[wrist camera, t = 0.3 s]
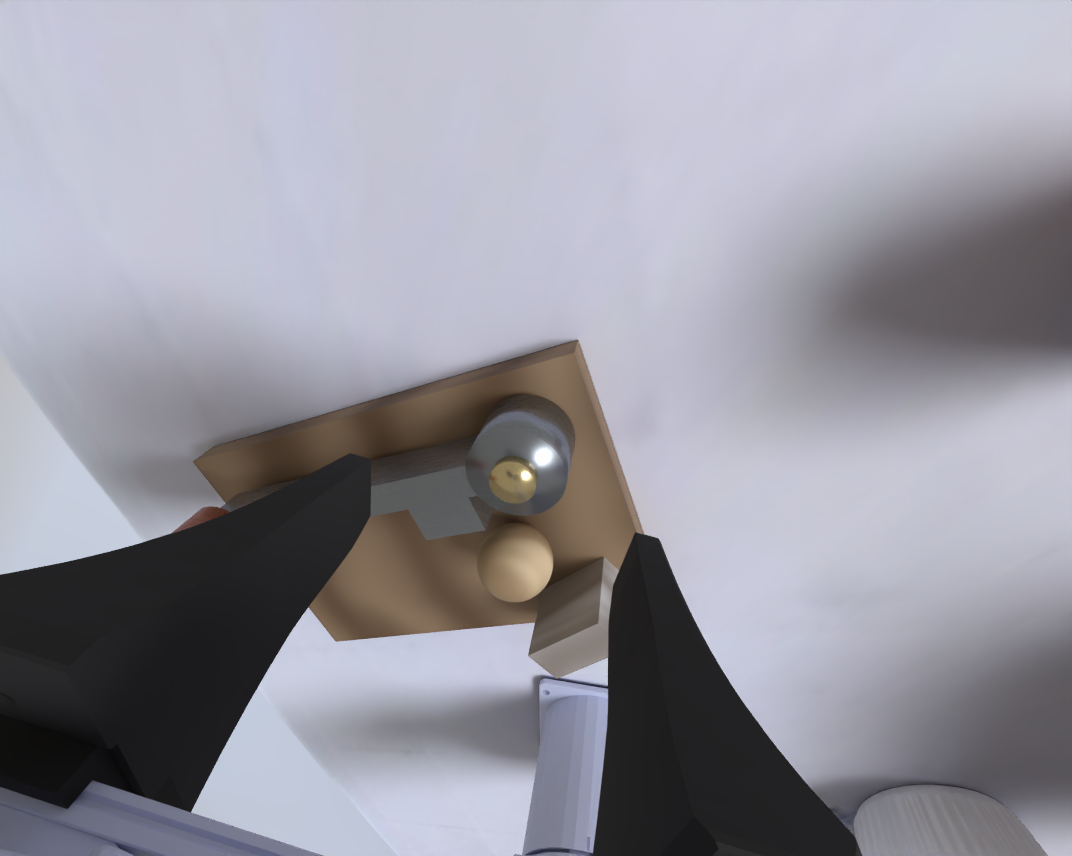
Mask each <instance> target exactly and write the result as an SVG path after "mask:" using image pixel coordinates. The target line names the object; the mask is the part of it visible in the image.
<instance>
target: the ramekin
mask: <svg viewBox="0 0 1072 856" xmlns="http://www.w3.org/2000/svg"><path fill="white" fill-rule="evenodd" d="M853 827H854V834H855V838H856V840H857V843H858V846H859V848H860V851H861V853H862V856H1048V855H1047V854H1046V853H1045V851H1044V850H1043V849H1042V847H1041V846H1040V845H1039V843H1038V842H1037V841H1036V839H1035V838H1034V837H1033V836H1032V834H1031V833H1030V831H1029V830H1028V829H1027V828H1026V826H1025V825H1024V824H1023V823H1022V822H1021V820H1020V819H1019V818H1018V817H1017V816H1016V815H1015V814H1014V813H1013V812H1011V811H1010V810H1009V809H1008V808H1007V807H1005V806H1003V805H1002V804H1000V803H999V802H998V801H996V800H994V799H993V798H991V797H989V796H986V795H984V794H981V793H979V792H976V791H972V790H968V789H964V788H958V787H951V786H942V785H909V786H901V787H896V788H891V789H888V790H884V791H881V792H879V793H877V794H875V795H873V796H871V797H869V798H868V799H866V800H865V801H864V802H863V803H862V804H861V805H860V807H859V809H858V811H857V814H856V816H855V818H854V824H853Z"/></svg>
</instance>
